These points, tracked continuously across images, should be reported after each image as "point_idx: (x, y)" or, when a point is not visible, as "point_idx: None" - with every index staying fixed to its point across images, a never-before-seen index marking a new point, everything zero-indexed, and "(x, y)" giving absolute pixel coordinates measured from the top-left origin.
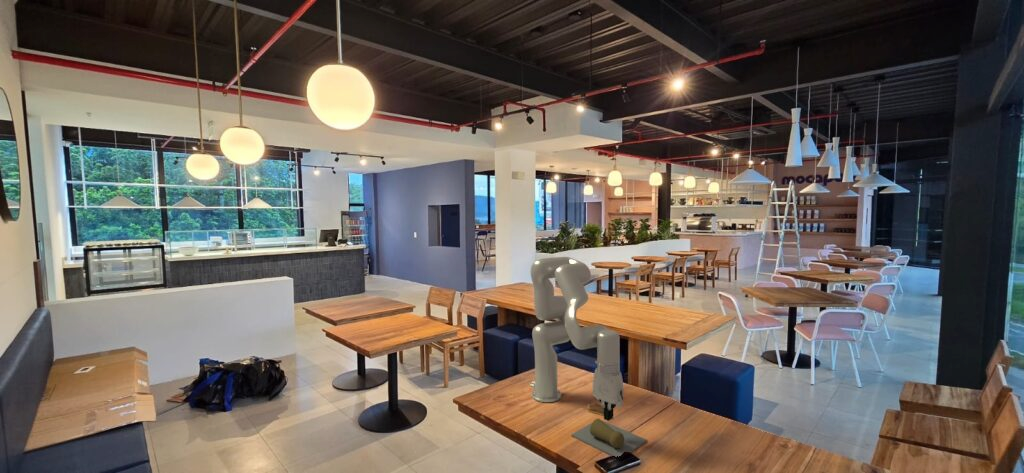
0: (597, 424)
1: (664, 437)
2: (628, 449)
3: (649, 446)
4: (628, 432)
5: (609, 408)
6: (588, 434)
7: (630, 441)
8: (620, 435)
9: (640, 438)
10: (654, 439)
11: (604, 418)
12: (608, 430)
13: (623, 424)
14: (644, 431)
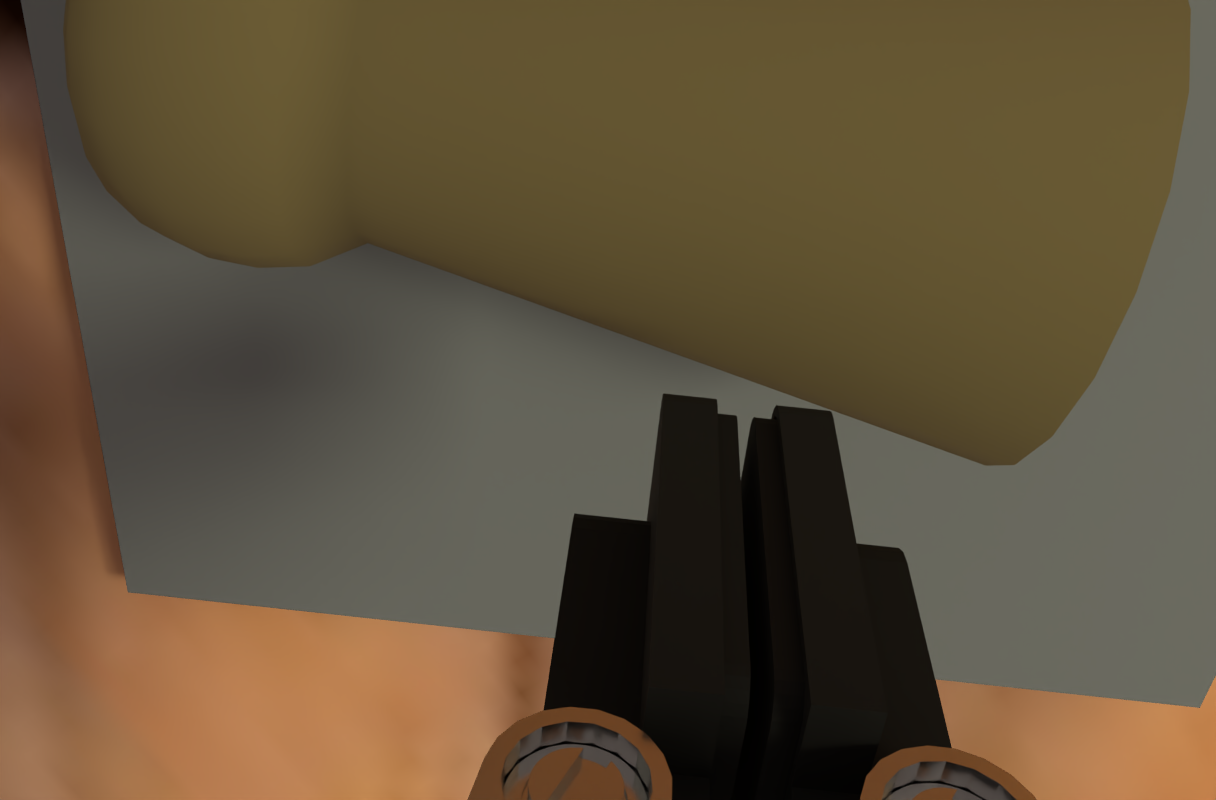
0: (962, 118)
1: (55, 788)
2: None
3: (7, 467)
4: (496, 614)
5: (551, 783)
6: (1191, 48)
7: (280, 381)
8: (72, 73)
9: (225, 567)
10: (107, 677)
11: (804, 420)
12: (498, 74)
13: None
14: (359, 779)
